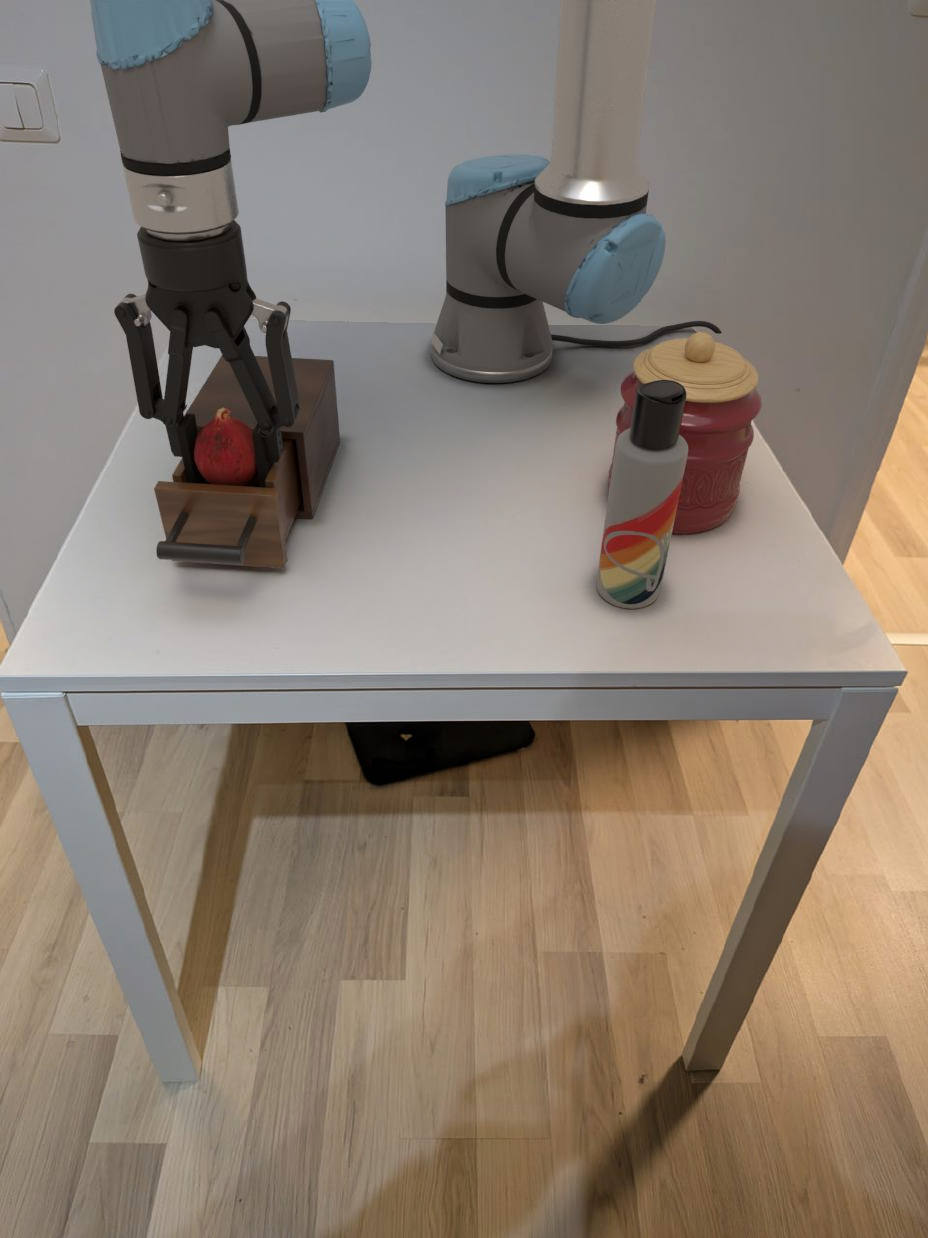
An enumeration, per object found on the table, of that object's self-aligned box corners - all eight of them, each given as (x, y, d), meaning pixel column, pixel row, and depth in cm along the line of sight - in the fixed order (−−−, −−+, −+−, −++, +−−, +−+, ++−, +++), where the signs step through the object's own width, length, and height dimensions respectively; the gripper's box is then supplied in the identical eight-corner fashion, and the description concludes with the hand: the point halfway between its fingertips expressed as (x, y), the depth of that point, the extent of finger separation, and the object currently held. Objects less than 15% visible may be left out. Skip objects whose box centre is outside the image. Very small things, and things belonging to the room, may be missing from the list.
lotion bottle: (630, 619, 80) (667, 412, 67) (582, 587, 84) (609, 383, 70) (672, 592, 83) (716, 388, 70) (624, 562, 86) (657, 361, 73)
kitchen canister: (752, 489, 96) (796, 325, 84) (707, 553, 88) (748, 381, 76) (637, 452, 101) (663, 292, 89) (583, 509, 93) (604, 341, 81)
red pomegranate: (252, 511, 82) (239, 431, 76) (191, 503, 82) (174, 423, 77) (275, 476, 86) (265, 397, 80) (217, 468, 87) (202, 390, 81)
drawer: (269, 611, 79) (257, 537, 74) (149, 603, 80) (129, 528, 74) (315, 485, 93) (308, 416, 88) (213, 479, 94) (200, 410, 89)
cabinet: (312, 519, 91) (303, 432, 84) (196, 511, 91) (178, 425, 85) (340, 441, 102) (333, 359, 95) (236, 435, 102) (222, 353, 96)
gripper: (42, 234, 66) (117, 504, 82) (303, 247, 65) (328, 518, 81) (83, 200, 72) (146, 459, 87) (324, 212, 71) (344, 471, 86)
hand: (233, 487), depth 84 cm, fingers closed on red pomegranate, 6 cm apart
